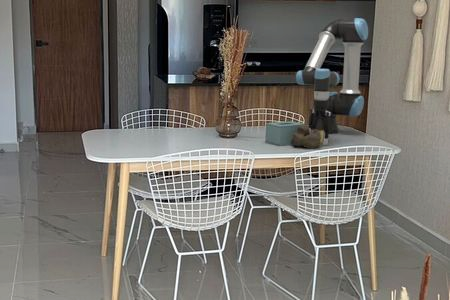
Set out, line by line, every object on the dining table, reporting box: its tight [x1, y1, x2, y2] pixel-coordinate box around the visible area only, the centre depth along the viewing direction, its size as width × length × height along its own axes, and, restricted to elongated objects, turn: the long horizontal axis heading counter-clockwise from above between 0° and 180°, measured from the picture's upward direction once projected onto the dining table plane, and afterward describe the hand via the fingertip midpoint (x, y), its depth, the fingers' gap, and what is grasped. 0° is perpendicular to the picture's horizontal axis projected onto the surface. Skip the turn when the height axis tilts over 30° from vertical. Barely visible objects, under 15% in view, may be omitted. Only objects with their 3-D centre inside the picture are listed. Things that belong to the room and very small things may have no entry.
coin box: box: [264, 120, 306, 147], centre depth 308 cm, size 16×12×10 cm
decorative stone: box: [291, 124, 321, 149], centre depth 298 cm, size 16×11×15 cm
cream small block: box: [318, 130, 324, 145], centre depth 306 cm, size 6×3×7 cm, turn 123°
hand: (319, 143), depth 307 cm, fingers open, 8 cm apart
